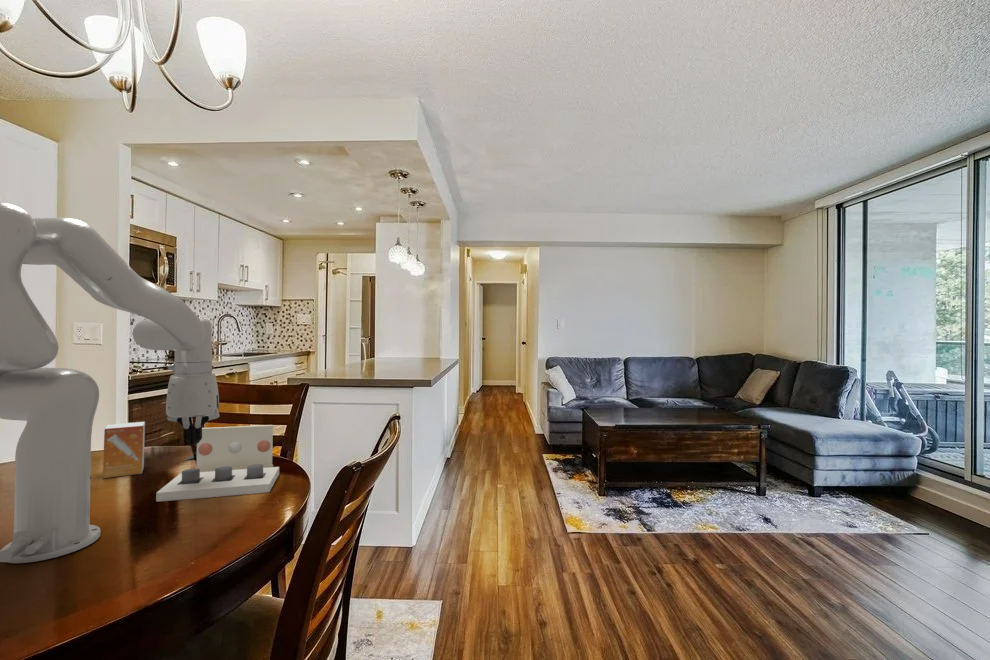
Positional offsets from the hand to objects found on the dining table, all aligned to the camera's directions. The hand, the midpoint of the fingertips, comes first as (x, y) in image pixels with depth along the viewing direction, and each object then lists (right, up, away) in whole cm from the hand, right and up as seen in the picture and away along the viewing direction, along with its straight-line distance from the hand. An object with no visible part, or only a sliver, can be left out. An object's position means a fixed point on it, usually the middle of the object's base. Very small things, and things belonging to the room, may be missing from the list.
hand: (194, 443), depth 108 cm
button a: (0, -9, -1) cm, 9 cm away
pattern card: (+3, -11, +12) cm, 16 cm away
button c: (+13, -10, +3) cm, 17 cm away
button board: (+6, -11, +1) cm, 13 cm away
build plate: (-15, -12, +26) cm, 32 cm away
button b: (+6, -10, +1) cm, 12 cm away
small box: (-26, -11, +10) cm, 30 cm away
